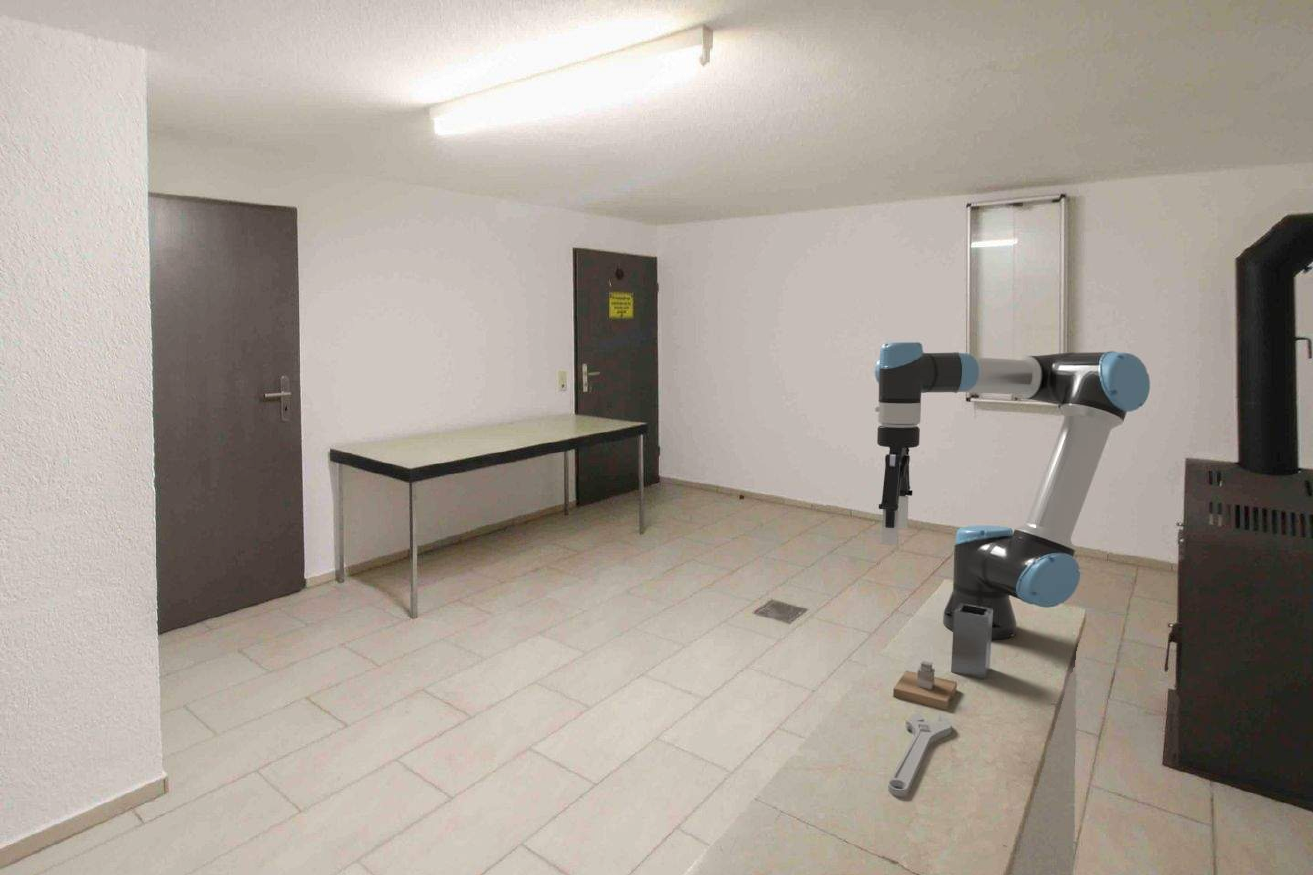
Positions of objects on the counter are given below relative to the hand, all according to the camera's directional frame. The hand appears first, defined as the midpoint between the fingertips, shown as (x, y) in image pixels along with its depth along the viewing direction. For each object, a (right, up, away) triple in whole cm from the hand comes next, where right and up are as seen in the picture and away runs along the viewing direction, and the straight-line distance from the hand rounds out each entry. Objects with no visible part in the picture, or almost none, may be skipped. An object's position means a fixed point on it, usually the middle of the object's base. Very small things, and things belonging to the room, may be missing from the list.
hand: (895, 536), depth 138 cm
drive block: (+3, -28, -7) cm, 29 cm away
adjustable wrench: (-6, -30, -27) cm, 41 cm away
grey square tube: (+16, -26, +3) cm, 31 cm away
